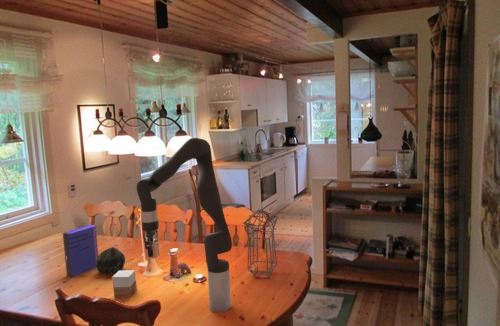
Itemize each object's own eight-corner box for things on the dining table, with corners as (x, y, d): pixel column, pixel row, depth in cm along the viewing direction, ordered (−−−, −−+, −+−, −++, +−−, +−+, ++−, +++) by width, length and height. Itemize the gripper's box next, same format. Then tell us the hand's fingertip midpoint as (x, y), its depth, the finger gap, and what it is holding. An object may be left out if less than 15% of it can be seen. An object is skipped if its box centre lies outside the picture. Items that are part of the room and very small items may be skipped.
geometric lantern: (280, 270, 217) (278, 206, 211) (273, 283, 202) (271, 214, 196) (251, 268, 221) (249, 205, 216) (243, 280, 206) (240, 213, 201)
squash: (96, 258, 230) (95, 244, 220) (124, 255, 236) (124, 241, 225) (97, 282, 222) (96, 268, 211) (126, 278, 227) (126, 264, 216)
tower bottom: (130, 297, 192) (129, 287, 192) (114, 297, 193) (113, 287, 192) (136, 289, 200) (136, 280, 199) (120, 290, 201) (120, 280, 200)
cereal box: (93, 265, 236) (90, 224, 233) (99, 266, 234) (95, 225, 231) (66, 275, 222) (62, 232, 219) (72, 277, 219) (68, 233, 216)
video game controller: (187, 274, 221) (182, 261, 222) (192, 271, 218) (187, 259, 220) (173, 280, 214) (168, 267, 215) (178, 278, 211) (173, 265, 212)
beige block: (156, 258, 192) (155, 245, 192) (145, 258, 193) (144, 246, 192) (159, 254, 197) (158, 242, 197) (149, 254, 198) (148, 242, 197)
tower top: (129, 287, 191) (128, 276, 191) (113, 287, 192) (112, 277, 192) (135, 280, 199) (134, 270, 199) (119, 280, 200) (119, 270, 199)
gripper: (153, 223, 186) (155, 259, 188) (161, 215, 200) (164, 249, 202) (136, 224, 186) (139, 260, 188) (146, 216, 200) (149, 250, 202)
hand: (152, 254), depth 195 cm, fingers closed on beige block, 5 cm apart
